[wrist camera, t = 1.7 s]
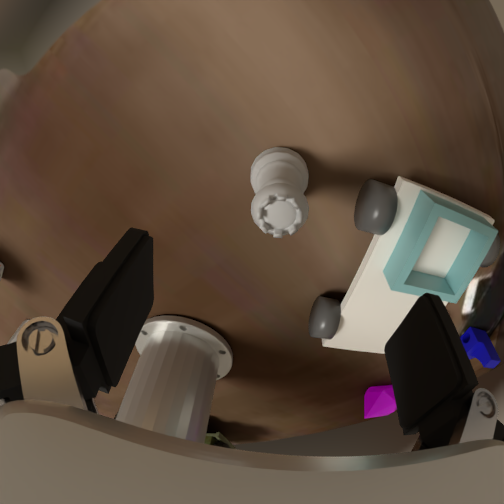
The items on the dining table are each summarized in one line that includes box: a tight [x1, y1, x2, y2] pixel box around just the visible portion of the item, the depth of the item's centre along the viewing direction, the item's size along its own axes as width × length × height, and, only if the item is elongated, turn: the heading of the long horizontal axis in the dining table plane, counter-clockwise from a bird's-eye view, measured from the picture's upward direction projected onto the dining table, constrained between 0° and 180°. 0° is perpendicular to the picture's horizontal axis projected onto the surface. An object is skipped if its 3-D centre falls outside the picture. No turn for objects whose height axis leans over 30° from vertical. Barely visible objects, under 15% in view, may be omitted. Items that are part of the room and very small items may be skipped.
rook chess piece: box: [251, 147, 309, 238], centre depth 19 cm, size 4×4×8 cm
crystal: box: [364, 385, 397, 419], centre depth 36 cm, size 5×5×5 cm
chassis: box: [309, 176, 500, 354], centre depth 24 cm, size 18×15×6 cm
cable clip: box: [460, 327, 501, 368], centre depth 31 cm, size 12×4×6 cm, turn 162°
